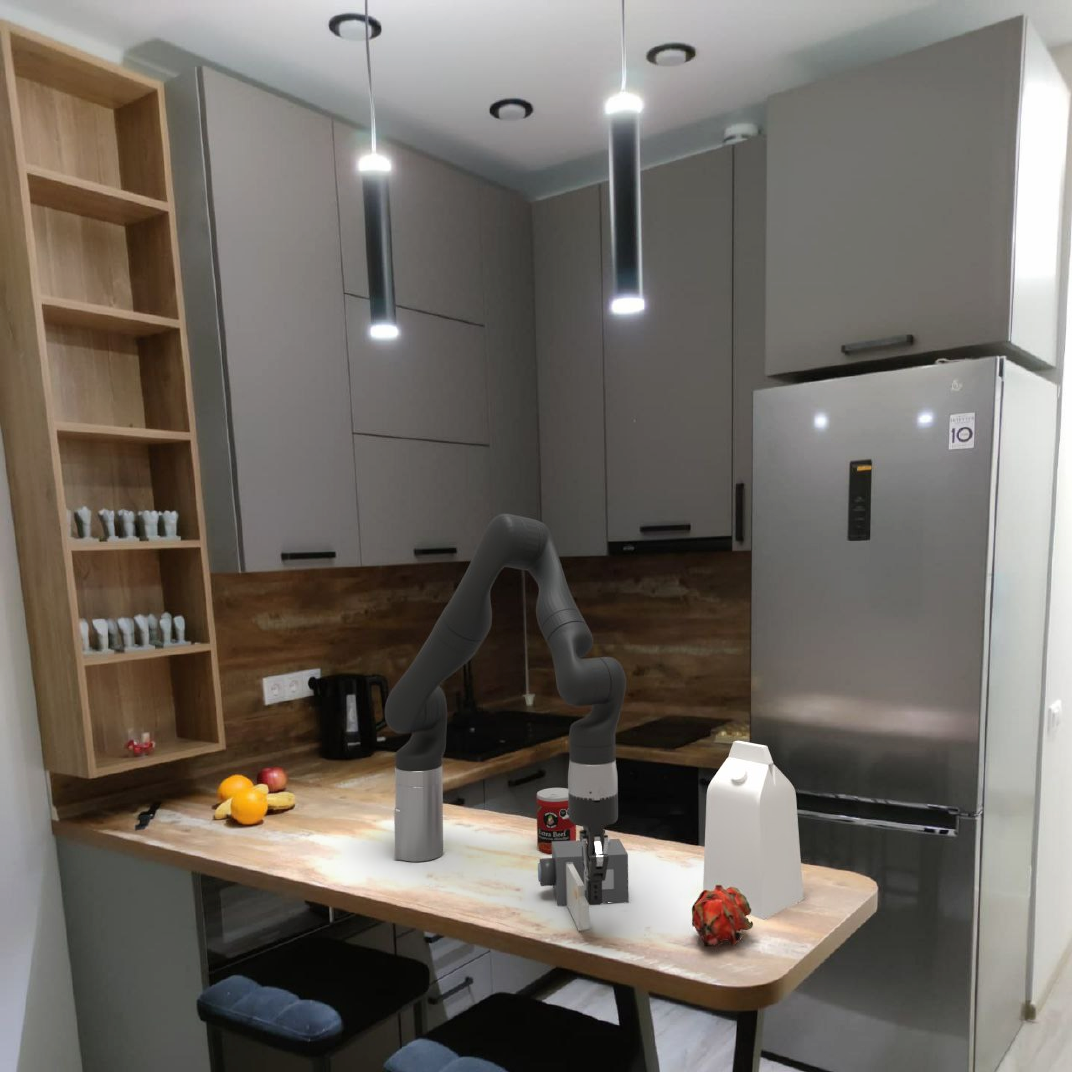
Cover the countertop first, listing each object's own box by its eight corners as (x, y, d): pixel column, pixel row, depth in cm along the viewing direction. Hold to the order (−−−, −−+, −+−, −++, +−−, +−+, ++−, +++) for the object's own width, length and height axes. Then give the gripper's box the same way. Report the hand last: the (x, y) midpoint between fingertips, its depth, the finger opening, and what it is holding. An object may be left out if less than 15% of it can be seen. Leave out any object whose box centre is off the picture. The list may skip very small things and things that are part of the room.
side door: (565, 903, 145) (564, 862, 145) (572, 902, 145) (572, 861, 145) (581, 940, 131) (581, 894, 131) (590, 939, 131) (589, 893, 131)
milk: (803, 900, 146) (800, 744, 147) (763, 919, 139) (760, 755, 139) (743, 880, 155) (741, 733, 156) (702, 897, 148) (700, 743, 148)
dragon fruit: (744, 936, 136) (710, 978, 127) (701, 896, 140) (665, 933, 130) (772, 902, 132) (739, 942, 123) (727, 861, 136) (692, 897, 127)
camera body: (541, 906, 145) (540, 852, 145) (536, 888, 153) (536, 836, 153) (628, 902, 146) (627, 848, 146) (619, 884, 154) (619, 833, 154)
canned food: (532, 853, 171) (531, 796, 171) (544, 840, 178) (544, 786, 178) (569, 857, 168) (568, 799, 168) (580, 843, 176) (580, 788, 176)
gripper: (563, 778, 140) (564, 887, 139) (574, 802, 126) (575, 923, 126) (609, 776, 140) (611, 885, 140) (625, 800, 127) (626, 920, 127)
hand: (594, 903), depth 133 cm, fingers closed
